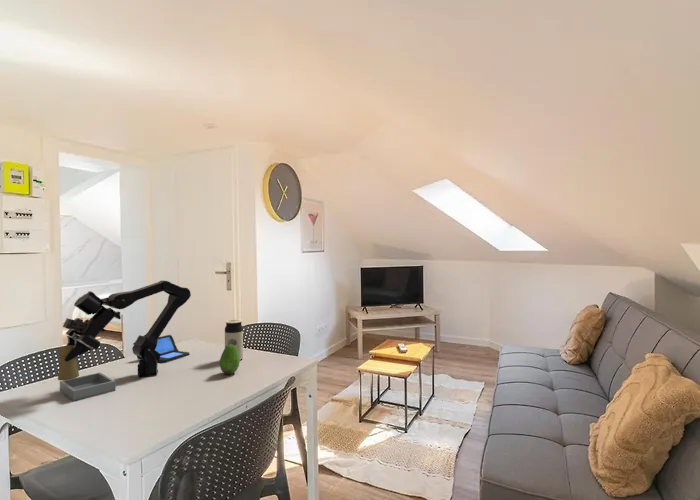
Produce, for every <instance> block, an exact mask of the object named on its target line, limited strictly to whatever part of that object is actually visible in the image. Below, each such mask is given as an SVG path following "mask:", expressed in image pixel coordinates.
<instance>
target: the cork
mask: <svg viewBox="0 0 700 500" xmlns="http://www.w3.org/2000/svg"><path fill="white" fill-rule="evenodd" d="M73 347H74V345H68V346H66V345H63V346H60V348H59V349H58V351H57V354H58V356H59V358H60V359H59V364H58V365H59V367H58V375H57V381H63V380H69V379H73V378H77V377H80V372H79V368H78V364H77V363H78V362H77V359H76V358H77V357H75V358H73V359H71V360H70V361H68V362H66V361H65V360H64V359H65V358H66V356H67V355H68V354H69V352H70V351H71V350H72V348H73Z"/></svg>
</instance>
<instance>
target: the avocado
mask: <svg viewBox="0 0 700 500" xmlns="http://www.w3.org/2000/svg"><path fill="white" fill-rule="evenodd" d="M240 362H241V360H240V358H239V353H238V350H237V347H236V346H235V345H232V344H229V345H227V346H226V347H225V346H224V349H223V351H222V353H221V355H220V359H219V367H220V371H221V372H222V373H224V374H226V375H232V374H234V373H235V372H237V371H238V369H239V366H240Z"/></svg>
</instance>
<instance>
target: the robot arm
mask: <svg viewBox="0 0 700 500" xmlns="http://www.w3.org/2000/svg"><path fill="white" fill-rule="evenodd" d="M161 292H164V293H165V294H167V295H168V297H167V303H166V305H165V307H164V308H162V309H163V310H162V311H161V312H160V314H159V315H158V317H157V319H155V320H154V322H153V324H152V325H151V327H150V328H149V330H148V331H147V332H146V333H145V334H144V335H139V334H138V336H137V338H136V340H135V341H134V342H133V343H132V345H133V346H132V349H131V350H132V353H133V355H135V356H136V357H137V360H138V364H137V375H138V378H146V377H147V378H148V377H155V376H157V375H158V373H159V369H158V362H157V360H159V359H160V355H161V354H159V353H158V352H157V351H155V349H156V347H157V342H158V338H159V337H161V335H162V333H163V332H164V330H165V329H166V327H167V326H168V324H169V322H170V321H171V319H172V318H173V316H174V315H175V313H176V312H177V310H178V309H179V308H181V307H182V306H183V305H185V303H186V302H187V301H189V299H190V298H191V296H192V293H191V290H190V289H189V288H188V287H183V286H182V287H181V286H179V285H177V284H174V283H172V282H171V281H169V280H160V281H158V282H154V283H152V284H148V285H145V286H142V287H139V288H137V289H134V290H130V291H129V290H128V291H120V292H115V293H111V294H110V295H108V297H104V298H100V297H99V296H98V295H96V294H95V293H94V292H93V291H90V290H89V291H88V292H87V293H84V294H83V295H81V296H79V298H78V299H76V301H75V302H74V305H73V306H74V307H76V308H78V310H81V311H82V312H83V313H85V314H86V315H87V316H89V315H93V316H91V318H90V319H85V320H84V319H83V318H82V319H81V318H75V319H72V318H67V317H66V319H65V321H64V323H63V325H62V328H65V329H67V331H66V332H65V334H66V338H67V343H66V345H65V346H68V345H74V347H73V348H72V350H71V351H70V352H69V354H68V355H67V356H66V358H65V359H64V360H65V361H66V362H68V361H70V360H71V359H73V358H75V357H76V358H77V357H79V356H81V355H83V354H85V353H87V352H89V351H92V349H94V350H96V351H97V350H98V348H100V346H101V341H99V340H98V339H97V336H98V335H99V334H100V333H101V332H102V333H104V332H105V330H106V329H105V328H106V327H107V325H109V323H111V321H113V319H117V320H121V311H119V310H124V309H126V308H128V307H129V306H131V305H133V304H134V303H135V302H137V301H140V300H142V299H144V298H147V297H150V296H153V295H155V294H158V293H161ZM105 306H107V307H105ZM114 309H116V310H118V311H115V310H114Z"/></svg>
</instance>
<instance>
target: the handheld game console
mask: <svg viewBox="0 0 700 500" xmlns="http://www.w3.org/2000/svg"><path fill="white" fill-rule="evenodd" d="M155 351H157V352H158V353H159V354H161V355H160V359H159V360H157V363H162V364H164V363H168V362H172V361H174V360H178V359H181V358H182V359H183V358H184V357H187V356H190V355H191V354H190V352H188V351H182V350H181V351H180V350H179V349H178V346H177V345H176V342H175V340H174V337H173V336H172V334H166V335H162V336H159V338H158V342H157V347H156V349H155Z"/></svg>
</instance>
